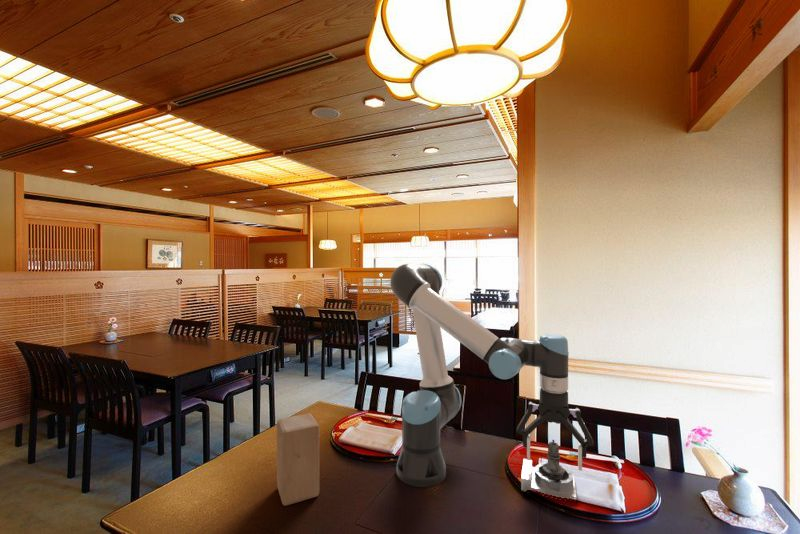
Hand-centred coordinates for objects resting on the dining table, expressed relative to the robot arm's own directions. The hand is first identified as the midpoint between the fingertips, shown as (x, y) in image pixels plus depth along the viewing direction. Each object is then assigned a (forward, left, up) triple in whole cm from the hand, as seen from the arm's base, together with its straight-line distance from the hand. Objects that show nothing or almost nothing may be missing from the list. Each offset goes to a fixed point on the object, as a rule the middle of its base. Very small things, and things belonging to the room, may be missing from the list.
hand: (553, 463), depth 103 cm
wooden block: (-66, -30, -7) cm, 73 cm away
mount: (-2, 0, -7) cm, 7 cm away
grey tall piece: (0, 0, -5) cm, 5 cm away
